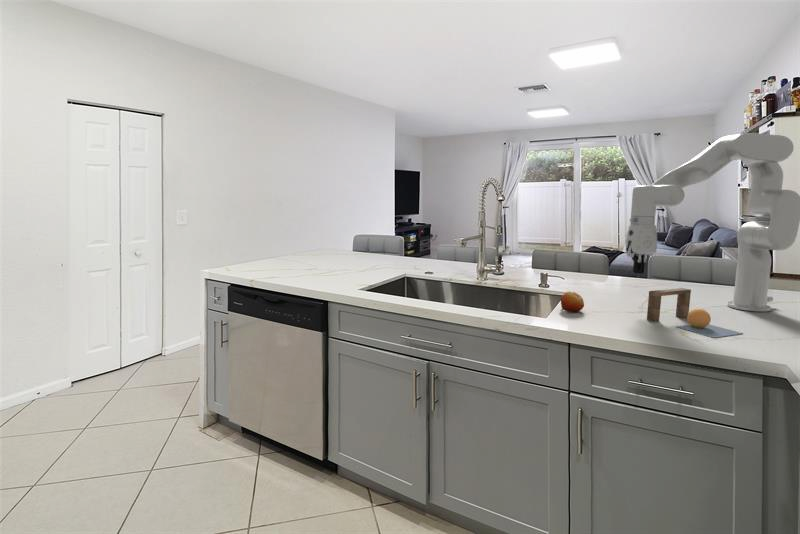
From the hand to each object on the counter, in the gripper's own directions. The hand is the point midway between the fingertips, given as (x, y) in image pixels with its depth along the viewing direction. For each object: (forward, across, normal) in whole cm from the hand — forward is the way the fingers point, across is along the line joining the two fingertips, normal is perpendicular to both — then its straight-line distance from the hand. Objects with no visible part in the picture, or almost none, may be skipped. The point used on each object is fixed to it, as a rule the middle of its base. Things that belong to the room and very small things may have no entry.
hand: (638, 272), depth 159 cm
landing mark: (+13, 0, -27) cm, 30 cm away
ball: (+10, 0, -24) cm, 26 cm away
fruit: (+14, -23, +6) cm, 27 cm away
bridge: (+13, 0, -13) cm, 19 cm away
